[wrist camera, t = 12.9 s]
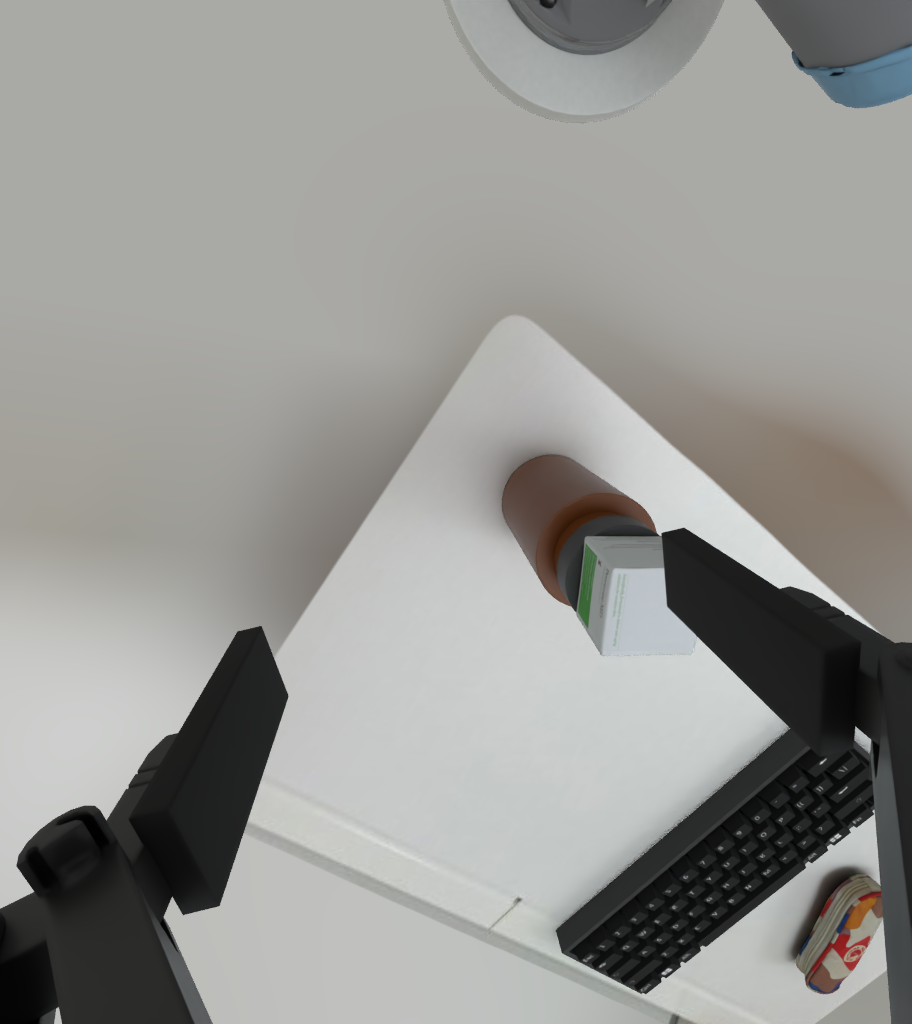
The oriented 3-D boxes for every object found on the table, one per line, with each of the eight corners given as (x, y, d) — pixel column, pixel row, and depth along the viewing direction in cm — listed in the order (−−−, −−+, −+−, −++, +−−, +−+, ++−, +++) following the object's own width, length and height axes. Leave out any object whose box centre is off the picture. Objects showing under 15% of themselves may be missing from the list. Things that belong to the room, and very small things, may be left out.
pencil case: (895, 875, 71) (930, 913, 66) (818, 967, 76) (845, 1008, 71) (835, 861, 69) (867, 899, 64) (759, 956, 74) (784, 998, 69)
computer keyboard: (632, 971, 72) (645, 1004, 68) (556, 930, 67) (564, 963, 64) (884, 768, 64) (913, 793, 60) (816, 707, 60) (842, 730, 56)
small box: (581, 533, 31) (613, 567, 26) (670, 533, 31) (716, 565, 27) (572, 616, 33) (600, 660, 28) (656, 614, 33) (697, 657, 28)
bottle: (494, 466, 46) (541, 529, 30) (587, 445, 47) (684, 496, 31) (510, 553, 49) (561, 652, 33) (598, 532, 50) (691, 622, 34)
